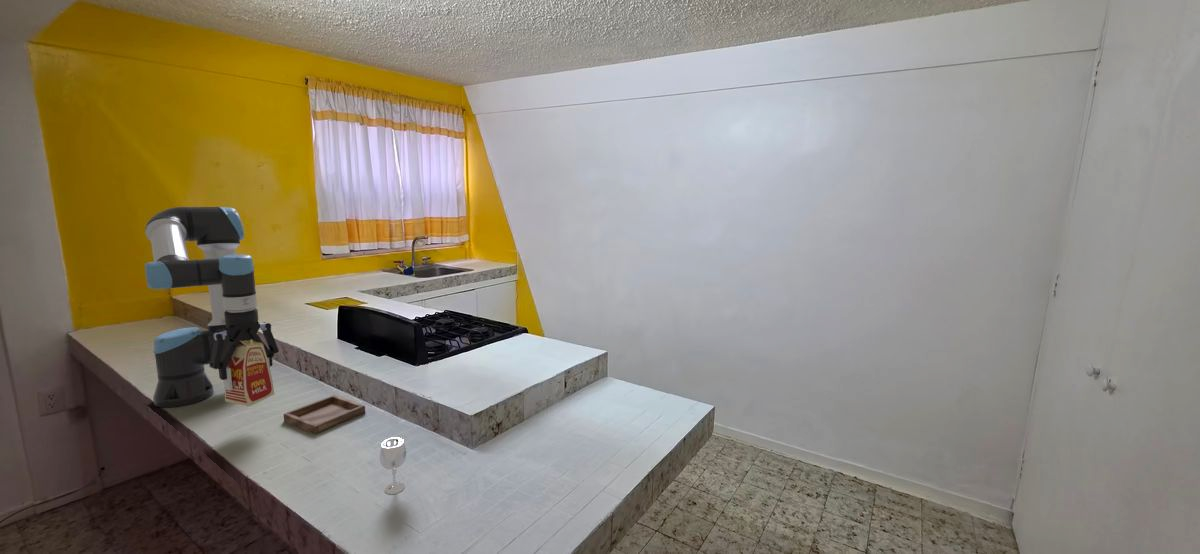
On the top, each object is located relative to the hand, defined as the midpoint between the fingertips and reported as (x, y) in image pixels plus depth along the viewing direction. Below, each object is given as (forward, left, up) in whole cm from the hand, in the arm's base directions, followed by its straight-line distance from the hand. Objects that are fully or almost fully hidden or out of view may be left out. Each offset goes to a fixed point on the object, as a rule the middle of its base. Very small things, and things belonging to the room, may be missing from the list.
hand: (248, 383), depth 134 cm
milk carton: (0, 0, -5) cm, 5 cm away
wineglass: (+61, +1, -14) cm, 62 cm away
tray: (+12, +15, -14) cm, 24 cm away
